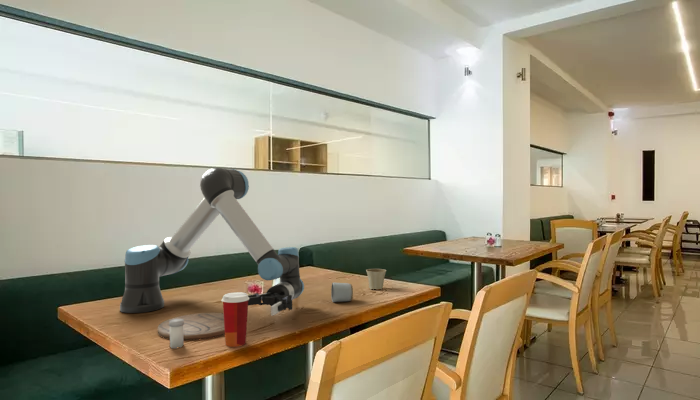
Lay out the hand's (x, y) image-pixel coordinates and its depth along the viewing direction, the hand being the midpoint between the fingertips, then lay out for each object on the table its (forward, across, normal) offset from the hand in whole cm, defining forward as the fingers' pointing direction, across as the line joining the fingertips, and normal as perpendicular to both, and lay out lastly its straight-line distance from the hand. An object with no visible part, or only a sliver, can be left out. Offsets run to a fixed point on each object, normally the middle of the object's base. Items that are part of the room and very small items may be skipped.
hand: (251, 309), depth 131 cm
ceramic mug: (-49, -14, -8) cm, 52 cm away
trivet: (-2, +19, -8) cm, 21 cm away
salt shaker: (+15, +16, -8) cm, 23 cm away
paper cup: (+9, 0, -8) cm, 12 cm away
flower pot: (-75, -24, -8) cm, 79 cm away
